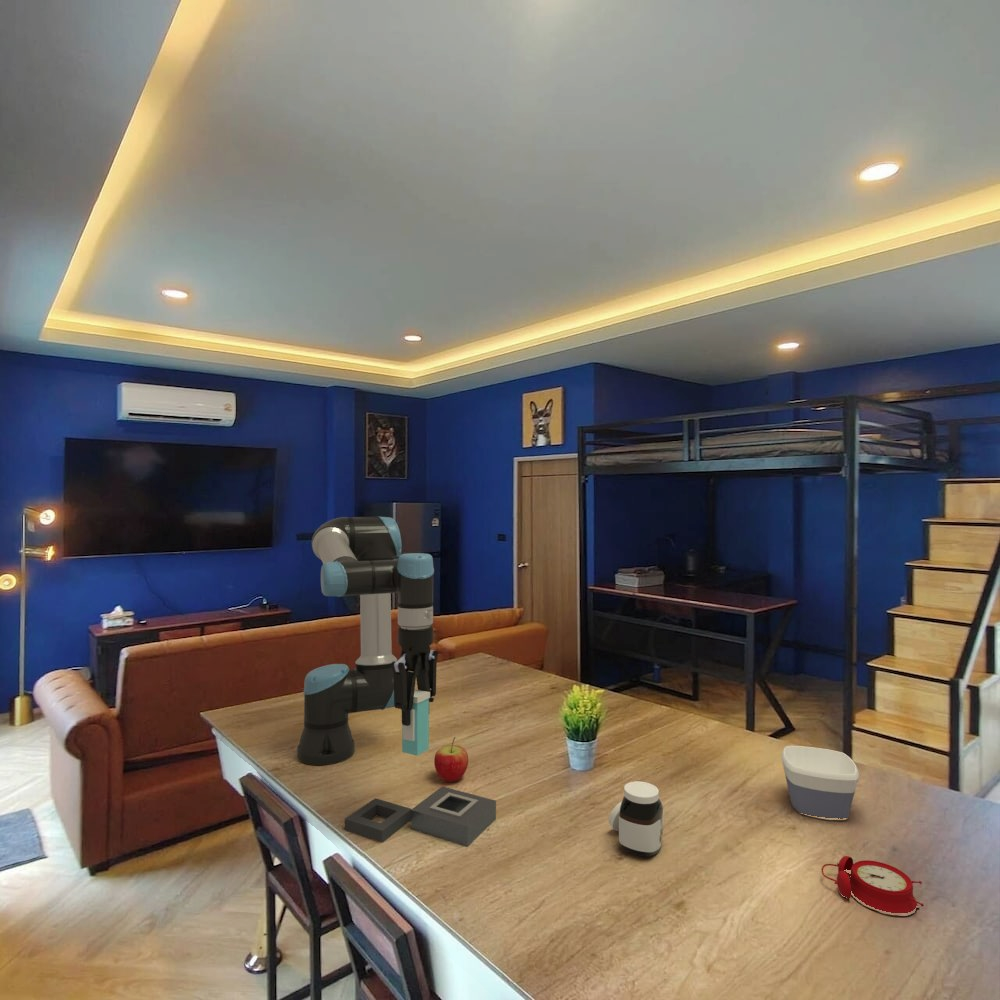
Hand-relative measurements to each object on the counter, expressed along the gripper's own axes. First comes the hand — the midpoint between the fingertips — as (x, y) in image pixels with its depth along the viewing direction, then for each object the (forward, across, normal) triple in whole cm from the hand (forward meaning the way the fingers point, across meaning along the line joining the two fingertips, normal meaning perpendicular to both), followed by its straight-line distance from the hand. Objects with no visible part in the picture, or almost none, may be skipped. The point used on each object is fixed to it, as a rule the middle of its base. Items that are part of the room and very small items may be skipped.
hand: (415, 735), depth 130 cm
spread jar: (+20, +18, -42) cm, 50 cm away
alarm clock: (+21, +23, -83) cm, 89 cm away
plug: (+3, 0, 0) cm, 3 cm away
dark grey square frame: (+19, -4, +7) cm, 21 cm away
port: (+19, +5, -6) cm, 21 cm away
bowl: (+20, +52, -74) cm, 93 cm away
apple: (+19, +22, +6) cm, 30 cm away
